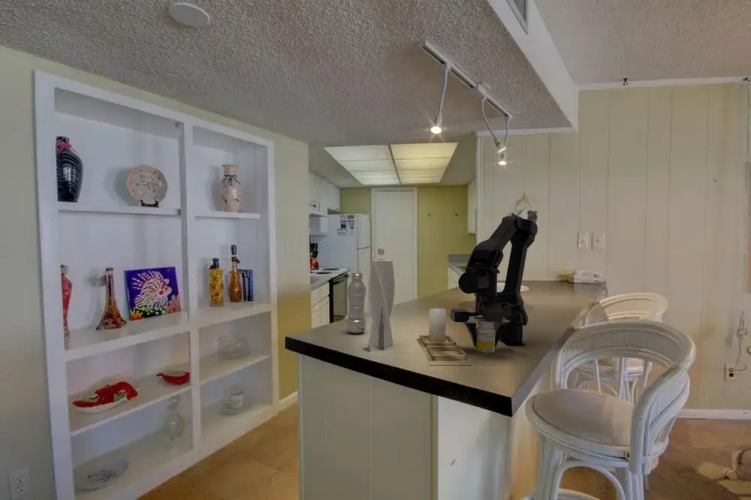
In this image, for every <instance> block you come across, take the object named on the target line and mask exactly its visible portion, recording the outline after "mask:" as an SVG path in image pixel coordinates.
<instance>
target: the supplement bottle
mask: <svg viewBox="0 0 751 500" xmlns="http://www.w3.org/2000/svg"><path fill="white" fill-rule="evenodd" d="M477 325H478V326H476V347H475V346H474V350H475V351H476V352H479V353H482V354H483V353H484V354H491V353H495V350H496V349H495V348H496V347H495V329H494V322H486V321H485V320H484V319H477Z"/></svg>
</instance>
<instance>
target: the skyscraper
mask: <svg viewBox="0 0 751 500" xmlns="http://www.w3.org/2000/svg"><path fill="white" fill-rule="evenodd" d="M371 253H372V254H371V264H370V269H369V271H370V272H369V278H368V302H369V304H368V305H369V310H370V315H371V319H372V320H371V326H370V332H369V339H368V342H367V343H368V344H367V346H365V347H364V348H362V349H363V351H367V352H371V346H372V347H373V346H374V347H377V350H379V351H384V350H385V348H387V347H390V346H394V341H393V334H392V327H391V320H390V318H391V315H392V311H393V306H394V302H395V301H394V300H395V286H396V285H395V272H394V270H395V269H394V263H393V258H392V257H389V259H387V257H383V256H379V257H376V259H375V252H374V251H372V252H371Z"/></svg>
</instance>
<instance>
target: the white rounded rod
mask: <svg viewBox="0 0 751 500" xmlns="http://www.w3.org/2000/svg"><path fill="white" fill-rule="evenodd" d="M428 316H429V317H428V319H429V322H428V323H429V324H428V325H429V327H428V329H429V330H428V331H429V332H428V335H429V342H445V340H446V335H447V334H446V333H447V331H446V330H447V329H446V328H447V326H446V325H447V309H446V308H442V307H431V308H430V307H429V315H428Z"/></svg>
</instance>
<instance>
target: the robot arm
mask: <svg viewBox="0 0 751 500" xmlns="http://www.w3.org/2000/svg"><path fill="white" fill-rule="evenodd" d="M538 230H539V228H538V225H537V223H536V222H534V220H532V219H526V218H523V217H521V216H519V215H505V216H503V217H502V219H501V223H500V224H499V225H498V226H497V228H496V229H495V230H494V231H493V233H491V235H490V237H488V239H486V240H483V241H481V242H479V243H477V245H475V246H474V248H473V250H472V251H471V254H470V256H469V259H468V262H467V265H466V267H465V271H464V273H463V272H462V274H461V275H460V276H459V279H458V281H457V283H458V287H459V289H460V291H462V292H463V293H464V294H467V295H471V294H474V297H475V301H474V302H475V304H474V307H473V309H474V310H473V311H469V310H468V309H465V308H452V309H451V310H450V312H449V313H450V314H449V316H450V317H449V318H450V319H451V320H452V321H453V322H454V323H462V324H463V325H465V326H466V329H467V331H468V333H469V336H470V339H471V341H472V344H473V346H474V348H475V347H476V327H477V325H478V323H476V322H475V319H476V320H478V319H484V320H485V321H486V322H493V328H494V329H495V348H496V347H497V346H498V343H499V341H500V342H501V343H502V344H504V345H505V346H525V342H523V331H524V329H523V328H524V326H527V325H528V322H529V316H528V314H527V311H526V309H525V306H524V304H525V302H524V299H523V297H522V294H521V288H522V283H523V277H524V276H523V275H524V272H525V264H526V259H527V253H528V249H529V247H531V246H532V244H533V243H534V242H535V239H536V236H537V234H538ZM509 242H510V245H511V248H510V253H509V259H508V264H507V271H506V274H505V281H504V285H503V286H504V287H503V289H502V291H500V292H498V274H500V273H501V272H500V269H499V266H500V265H501V263H502V262H503V259H504V256H505V255H504V251H503V250H504V248H505V247H506V246H507V244H508V243H509Z"/></svg>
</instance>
